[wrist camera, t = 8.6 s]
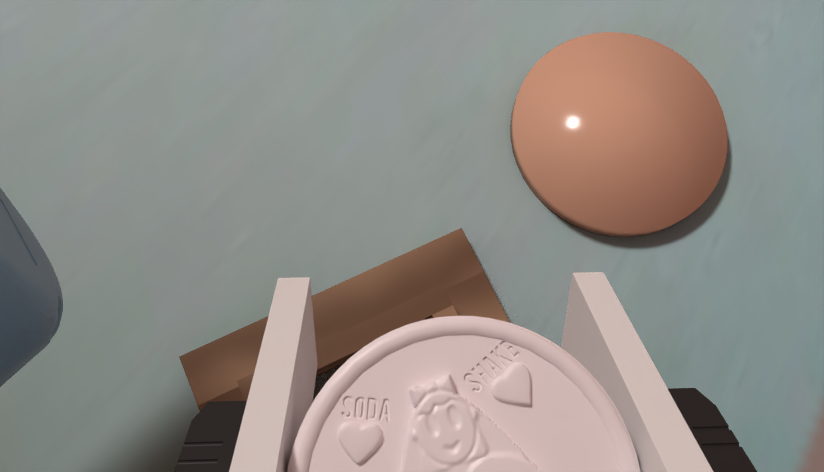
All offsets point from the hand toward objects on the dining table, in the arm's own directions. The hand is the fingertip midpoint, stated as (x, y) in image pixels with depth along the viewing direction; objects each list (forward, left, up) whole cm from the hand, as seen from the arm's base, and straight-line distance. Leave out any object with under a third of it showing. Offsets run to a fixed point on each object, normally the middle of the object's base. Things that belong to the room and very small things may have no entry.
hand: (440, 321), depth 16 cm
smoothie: (+3, -2, -6) cm, 7 cm away
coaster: (-7, +17, -20) cm, 28 cm away
